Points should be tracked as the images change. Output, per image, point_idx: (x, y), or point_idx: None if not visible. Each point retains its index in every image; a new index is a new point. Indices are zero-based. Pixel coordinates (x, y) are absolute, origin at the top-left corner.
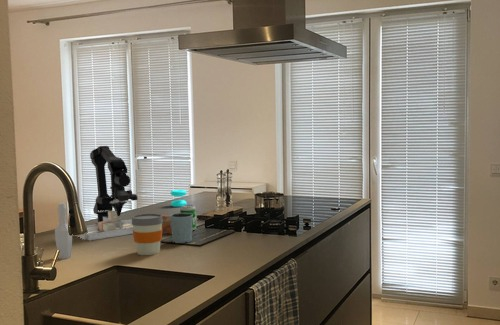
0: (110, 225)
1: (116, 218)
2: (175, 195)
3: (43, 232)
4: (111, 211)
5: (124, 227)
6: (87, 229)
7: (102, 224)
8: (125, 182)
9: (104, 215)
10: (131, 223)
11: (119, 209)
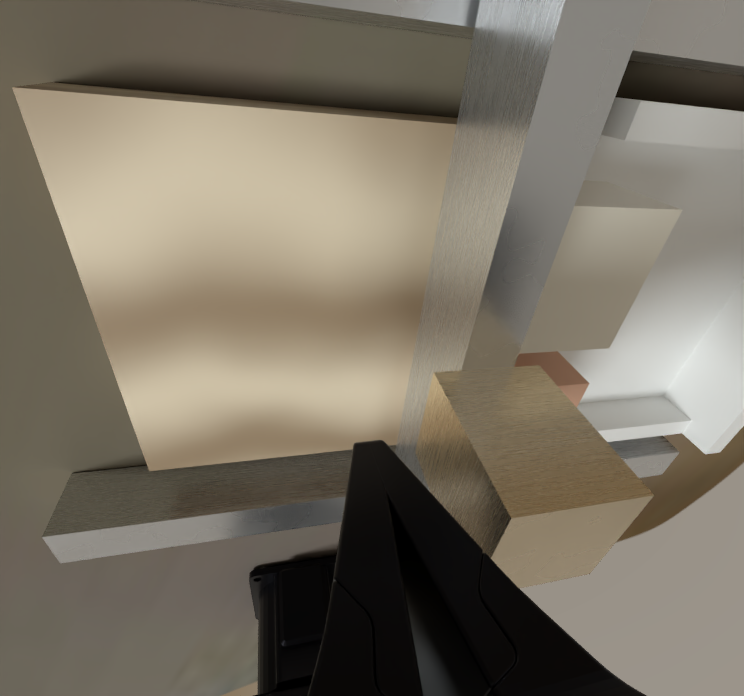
0: (608, 203)
1: (440, 378)
2: None
3: (641, 531)
4: (621, 507)
5: (287, 253)
6: (589, 421)
7: (571, 371)
8: None
9: (316, 652)
10: (76, 494)
11: (400, 582)
